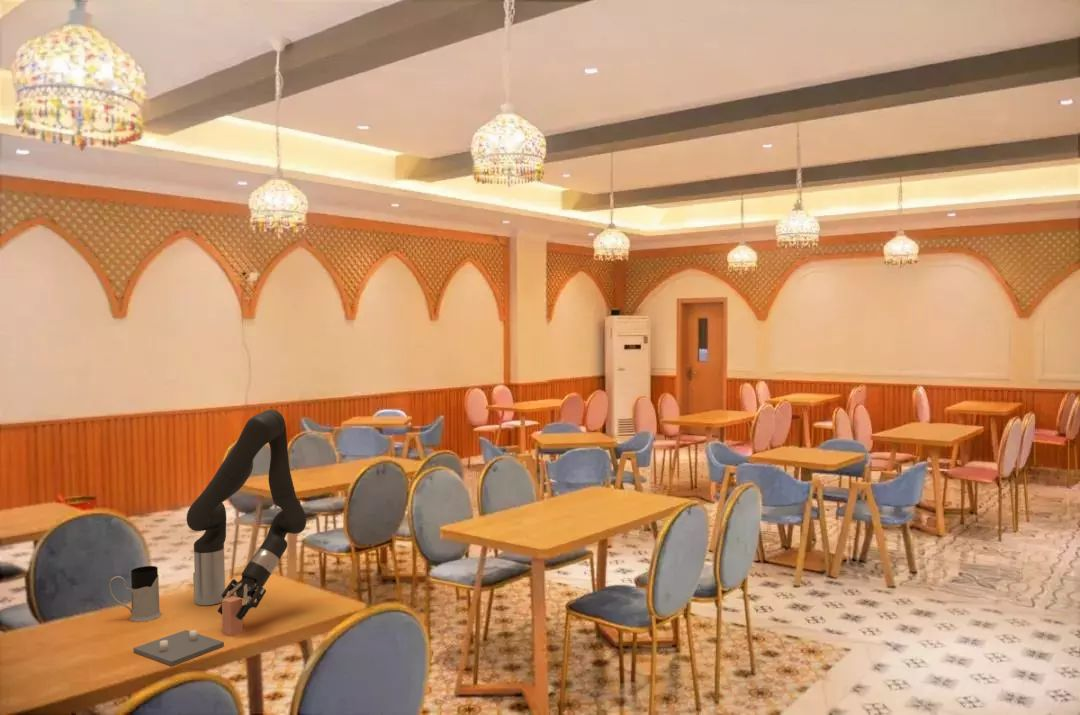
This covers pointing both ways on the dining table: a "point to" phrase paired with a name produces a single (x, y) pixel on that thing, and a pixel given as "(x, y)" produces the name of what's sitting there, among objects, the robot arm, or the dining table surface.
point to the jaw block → (231, 616)
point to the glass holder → (143, 593)
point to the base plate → (178, 647)
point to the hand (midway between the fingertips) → (229, 615)
